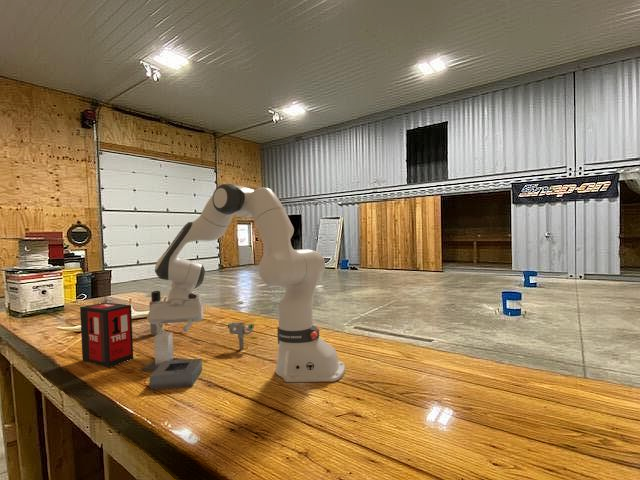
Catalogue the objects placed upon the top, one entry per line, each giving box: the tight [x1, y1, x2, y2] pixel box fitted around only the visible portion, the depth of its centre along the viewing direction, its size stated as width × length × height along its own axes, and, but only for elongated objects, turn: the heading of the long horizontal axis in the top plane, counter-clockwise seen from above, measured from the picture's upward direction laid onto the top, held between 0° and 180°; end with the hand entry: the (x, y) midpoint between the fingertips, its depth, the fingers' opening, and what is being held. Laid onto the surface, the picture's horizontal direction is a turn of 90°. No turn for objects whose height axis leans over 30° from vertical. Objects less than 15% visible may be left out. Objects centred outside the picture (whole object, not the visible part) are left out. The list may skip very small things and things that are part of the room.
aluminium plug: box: [153, 331, 174, 366], centre depth 116 cm, size 4×4×10 cm
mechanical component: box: [227, 322, 255, 351], centre depth 131 cm, size 3×10×10 cm, turn 79°
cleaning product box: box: [79, 301, 134, 368], centre depth 124 cm, size 16×9×20 cm, turn 62°
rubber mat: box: [140, 357, 187, 373], centre depth 116 cm, size 10×10×1 cm
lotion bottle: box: [148, 290, 165, 336], centre depth 156 cm, size 6×6×20 cm
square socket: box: [149, 357, 203, 391], centre depth 105 cm, size 12×12×4 cm
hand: (172, 331), depth 126 cm, fingers open, 8 cm apart
